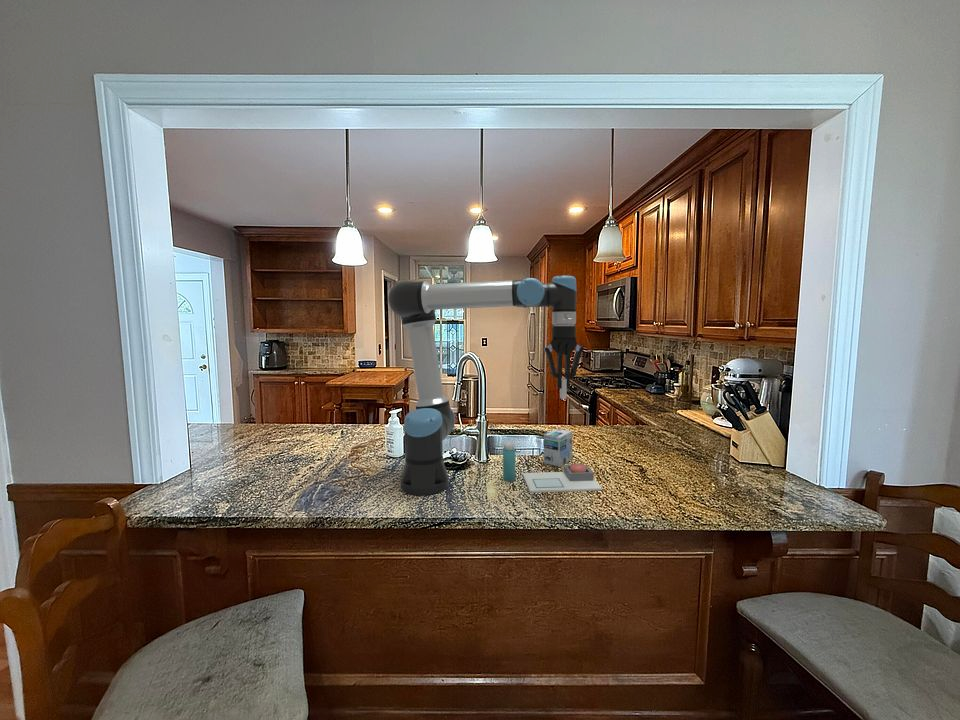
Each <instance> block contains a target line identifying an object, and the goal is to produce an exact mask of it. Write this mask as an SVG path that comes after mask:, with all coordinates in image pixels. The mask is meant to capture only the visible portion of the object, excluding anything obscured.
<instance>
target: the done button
mask: <svg viewBox="0 0 960 720" xmlns="http://www.w3.org/2000/svg"><path fill="white" fill-rule="evenodd" d="M569 465H570V471H571V472H572V473H577V472H586V466H585V465H586V464H582V463H571V464H569Z"/></svg>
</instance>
